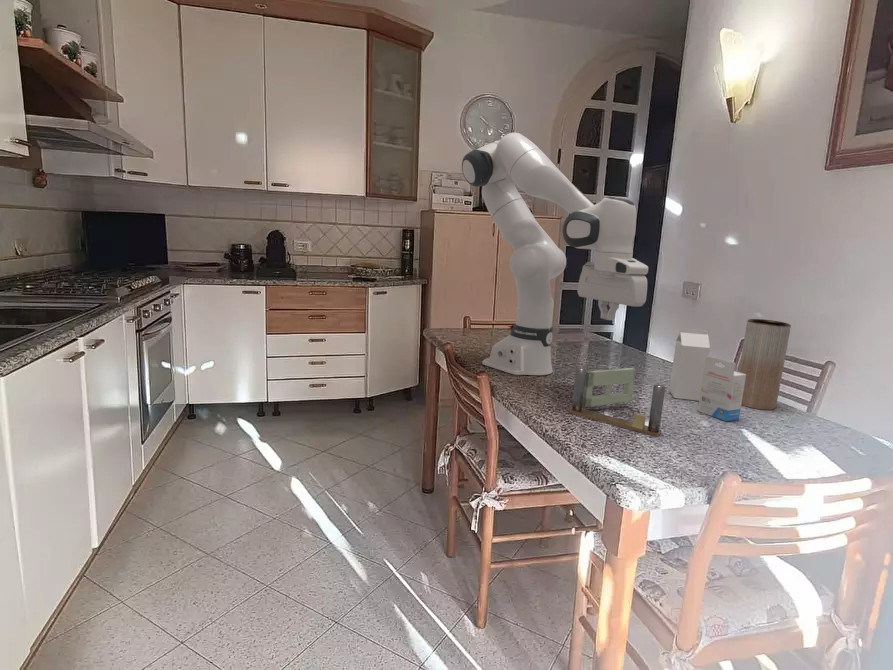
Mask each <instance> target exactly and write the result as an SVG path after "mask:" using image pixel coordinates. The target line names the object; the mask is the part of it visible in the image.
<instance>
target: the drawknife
mask: <svg viewBox="0 0 893 670" xmlns="http://www.w3.org/2000/svg"><path fill="white" fill-rule="evenodd" d="M586 371H587V368H585V367H580V366H579V367H575V375H574V385H573V393H572V395H573V396H572V404H571V408H569V409H568V413H570V414H571V415H572V414H573V415H576V416H580V417H583V418H588V419H591V420H594V421H598V422H601V423H604V424H608V425H612V426H616V427H618V428H624V429H627V430H630V431H633V432H637V433H640V434H645V435H648V436H652V437H658V436H659V435H661V433H662V429H661V421H662V414H663V407H664V399H665V392H666V386H665V385H663V384H658V383H657V384H656V383H655V384H653V387H652V388H653V389H652V395H651V403H650V410H649V416H648V425H646V419H647V416H646V415H643V414H640V413H637V412H636V413H633V419H632V421H630V420H627V419H622V418H620V417H619V418H618V417H616V416H612V415H607V414H604V413H600V412H597V411H593V410H589V409H585V408H583V405H582V404H583V395H584V386H585V377H586Z"/></svg>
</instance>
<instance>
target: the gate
mask: <svg viewBox="0 0 893 670" xmlns="http://www.w3.org/2000/svg"><path fill="white" fill-rule="evenodd" d="M635 376H636V368H634V367H627V368H626V367H624V368H613V369H612V368H611V369H599V370H598V369H597V370H586V377H585V386H584V395H583V404H582V407H585V408H587V407H593V406H595V407H596V406H602V405H604V406H605V405H610V404H611V405H612V404H620V403H629V402H632V401H633V400H632V399H633V392H634V385H635ZM621 384H624V389H623V392H618V393H613V386H614V385H621ZM600 386H602V387H603V386H605V390H604V394H599V395H593V387H600Z"/></svg>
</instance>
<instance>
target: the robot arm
mask: <svg viewBox="0 0 893 670" xmlns="http://www.w3.org/2000/svg"><path fill="white" fill-rule="evenodd" d="M461 172H462V174H463V178H464V179H465V181H466V182H467V183H468V184H469V185H470V186H472V187H482V188H481V196H482V199H483V201H484V204H485V206H486V209H487V211H488V213H489V215H490V217H491V219H492V221H493V222H494V224H495V226H496V228H497V229H498V232H499V233H500V234H501V236H502V237H503V239H504V241H505V242H506V243H508V244H509V245H510V246H511V248H513V249H514V250H515V251H514V252H513V253H512V255H510V259H509V269H510V271H511V273H512V275H513V277H514V282H515V289H516V297H517V299H516V301H517V303H516V306H517V307H516V315H515V316H516V318H515V323H513V324H511V325H509V326H508V325H507V330H508V331H509V330H510V333H509V334H508V335H507V336H506V337H504V338H502V339H501V340H500V341H497V342H496V343H494V345H492V348H491V350H490V354H489V357H487V358H485V359H483V360H482V365H484V366H486V367H490V368H493V369H496V370H499V371H503V372H504V373H508V374H512V375H514V376H523V375H524V376H526V375H528V376H546V375H550V374H553V372H554V371H553V365H552V357H551V356H552V354H551V353H552V352H551V345H552V341H553V331H554V327H553V317H554V316H553V315H554V309H555V307H554V305H555V302H554V298H553V297H552V290H551V283H550V282H551V281H550V280H553V279H556V278H557V277H558V276H560V275H561V274H562V273H563V272H564V270H565V269H566V266H567V257H566V254H565V252H564V251H563V250H562V249H561V248H559V247H558V246H557V244H556V243H555V241H554V240H553V239H552V238H551V237H550V236H549V234H548V233H547V232H546V231H545V230H544V228H543V227H541V225H540V224H539V222H538V221H537V220H536V218H535V216H534V215H533V213H532V212H531V210H530V208H529V207H528V205H527V203H526V202H525V200H524V199H523V197H522V195H521V194H520V192H519V191H518V189H517V188H519V189H520V190H521V191H523V193H525V194H526V195H528V196H531V197H535V198H538V199H541V200H545V201H548V202H552V203H554V204H556V205H558V206H560V207H561V208H563V210H565V211H566V212H567V213H568V214H569V215H568V216H566V218H565V219H564V222H563V225H562V231H561V232H562V238H563V239H564V241H565V243H566V244H567V245H568V246H570V247H571V248H576V249H583V250H595V253H594V255H595V256H594V262H591V261H587V262H586V263H585V264H584V265H582V269H581V273H580V275H579V280H578V284H577V294H578V297H579V298H586V299H591V300H595V301H597V302H598V303H597V305H598V308H599V311H600V319H603V320H607V321H614V319H615V314H616V312H617V311H618V309H619V307H620V305H623V306H629V307H643V305H644V304H645V303H646V301H647V296H648V295H647V294H648V278H647V277H646V276H645V275H647V274H648V273H649V266H648V265H646V264H645V263H643V262H641V261H640V260H638V259H636V258H633V255H634V250H633V242H634V239H635V236H636V227H637V209H636V204H635V203H634V202H633V201H632V200H630V199H626V198H621V197H616V196H606V197H603V198H602V199H601V200H600V201H599V202H597V203H596V204H595V203H594V202H593V201H592V200H591V199H590V198H589V197H587V195H585V193H583V192H582V191H581V190H580V189H579V188H578V187H577V186H575V184H574V183H572V182H571V181H570V180H569V179H568V178H567V177H566V176H565V174H564V173H562V171H561V170H560V169H559V168H558V167H557V166H556V165H555V163H553V162H552V160H550V158H549V157H548V156H547V155H546V154H545V153H544V152H543V151H542V150H541V149H540V147H539V146H537V145H536V144H535V143H534V142H532V141H531V140H530V139H529V138H527V136H525V135H523V134H522V133H519V132H509V133H507V134H505V135H503V136H502V137H501V138H500V139H499V140H495V141H491V142H489V144H485V145H483V146H481V147H478V148H477V149H473V150H471V151H469V152H467V153H466V154H464V156H463V157H462V162H461ZM608 307H609V309H608Z"/></svg>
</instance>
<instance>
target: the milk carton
mask: <svg viewBox="0 0 893 670" xmlns="http://www.w3.org/2000/svg"><path fill="white" fill-rule="evenodd" d="M710 348H711V345H710V339H709V330H704V329H703V330H702V329H693V328H683V327H682V328H680V331H679V334H678V336H677V338H676V340H675V347H674V354H673V360H672V367H671V375H670V382H669V383H670V384H669V392H670V394H671V396H672V397H673V398H674V399H680V400H687V401H698V402H699V401H700V394H701V388H702V381H703V374H704V368H705V364H706V357H707V356H710Z"/></svg>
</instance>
